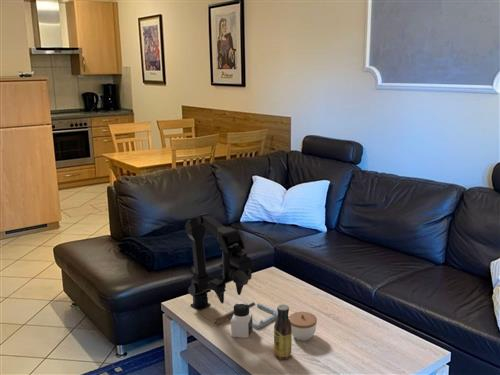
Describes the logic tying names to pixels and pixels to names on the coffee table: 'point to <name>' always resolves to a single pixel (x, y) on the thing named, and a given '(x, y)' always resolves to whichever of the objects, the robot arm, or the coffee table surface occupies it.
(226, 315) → the wooden plank
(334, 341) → the coffee table surface
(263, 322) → the grey angle bracket
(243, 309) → the medicine bottle
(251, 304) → the rail
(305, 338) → the lidded jar
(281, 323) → the sauce bottle
